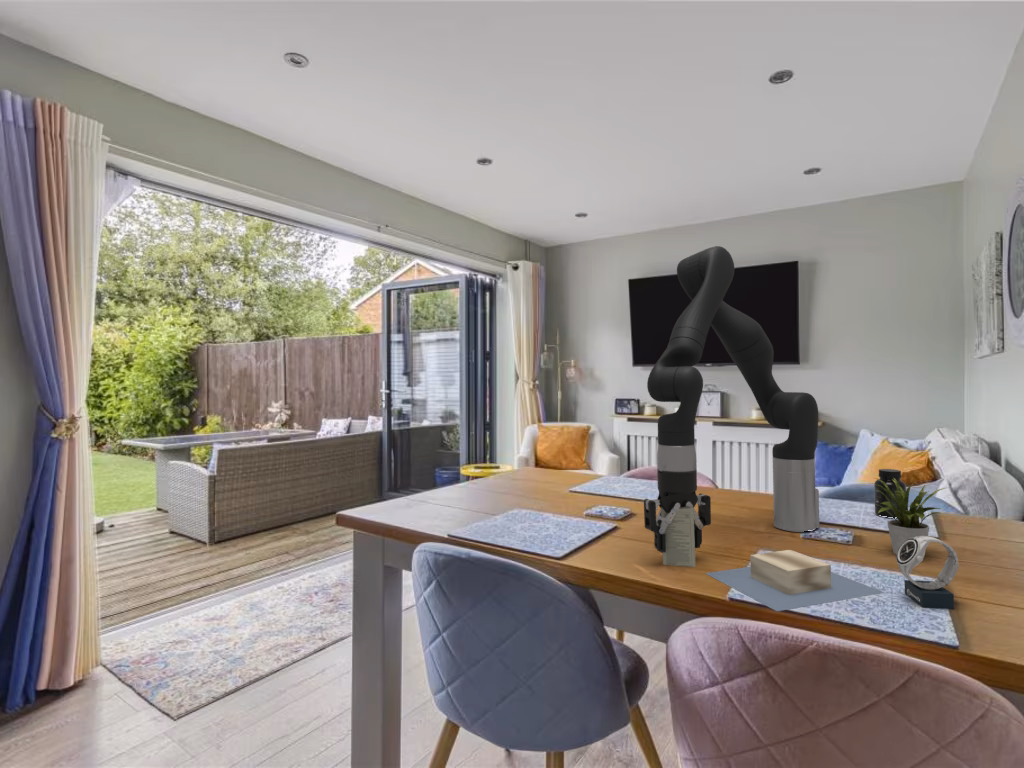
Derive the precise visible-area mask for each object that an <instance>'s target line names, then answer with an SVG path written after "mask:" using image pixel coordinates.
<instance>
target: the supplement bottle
mask: <svg viewBox="0 0 1024 768" xmlns="http://www.w3.org/2000/svg"><path fill="white" fill-rule="evenodd" d="M878 477H879V478H878V479H879V480H881V481H883V482H884V483H885V484H886V485H887V486H888V487H889V489H890V490H891V492H892V493H893V495H894V497H895V498H896V500H897V501H898V499H897V497H896V495H895V491H897V487H896V485H895V483H894V482H893V480H894V478H895V479H896V480H897V481H898V483H899V486H900V487H901V488H902V489H903V491H904V493H906V490H907V484H906V483H905V482H904V481H903V480H901V479H902V471H901V470H899V469H894V468H893V469H892V468H879V469H878ZM879 480H877V479H876V480H875V481H874V483H873V486H874V487H873V488H875V489H873V490H874V514H875V515H876V514H877V515H881V516H887V517H892V516H894V517H896V515H895V514H894V512H893V511H892V510H891V508H889V509H888V510H887V511H888V512H889V513H890V514H891V515H892V516H891V515H890V514H889V513H888V512H887V511H886V510H885V511H882V512H879V510H880V509H881V508H882V507H883V508H888V506H887V505H885V504H881V503H883V502H889V501H888V500H887V498H888V499H889V500H890V502H891V503H892V504H893V505H894V506H895V507H896V508H897V509H898V510H899V508H898V506H897V505H896V503H895V502H894V500H893V499H892V498H891V496H890V495H889V494H888V493H887V492H886V491H885V490H884V489H883V488H881V487H880V486H882V487H884V488H886V487H885V485H884V484H883V483H882V482H881V481H879ZM894 481H895V480H894ZM875 484H878V485H880V486H878V485H875ZM877 489H878V490H880V491H881V492H883V493H884V494H885V495H886V496H887V498H886V497H885V496H884V495H883V494H882V493H881V492H880V491H878V490H877ZM886 489H887V488H886ZM898 503H899V502H898ZM876 504H877V505H876ZM880 506H881V507H880ZM878 512H879V513H878ZM877 515H876V516H877Z"/></svg>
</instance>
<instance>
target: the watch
mask: <svg viewBox="0 0 1024 768" xmlns="http://www.w3.org/2000/svg"><path fill="white" fill-rule="evenodd" d="M930 543H939V544H941V545H942V546H943V547H944V548H945V551H946V553H947V554H948V556H947V559H946V560H945V562H944V564H943V567H942V568H941V570H940V572H939V573H938V575H937V576H936V578H937V579H935V580H934V581H933V580H914V579H913V577H911V576H910V574H911V573H912V571H913V569H914V568H915V567H917V566H918V565H920V563H921V562H923V560H924V558H925V555H926V549H927V548H928V547H929V545H930ZM895 555H896V554H895ZM895 557H896V558H895V559H896V562H897V566H898V569H899V572H901V574H902V576H903V577H904V578H906V579H904V581H903V582H904V595H906V596H907V597H908V598H909V599H911V600H912V601H913V602H915V603H916V604H917V605H918V606H920V607H921V608H923V609H925V608H926V609H943V610H945V609H946V610H955V596H954V595H955V594H954V593H952V592H951V591H950V590H948V589H947V588H945V586H946V587H947V586H949V585H950V584H951V582H952V581H953V580H954V578H955V577H956V574H957V572H958V570H959V567H960V564H959V557H958V554H957V552H956V551H955V549H954V548H953V547H952V546H950V544H948V543H946V542H944V541H943V540H940V539H938V538H936V537H934V536H929V535H928V536H918V537H915V538H909V539H907V540H906V541H904V542H903V543H902V544H901V546H900V547H899V549H898V551H897V555H896V556H895Z"/></svg>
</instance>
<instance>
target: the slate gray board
mask: <svg viewBox="0 0 1024 768" xmlns="http://www.w3.org/2000/svg"><path fill="white" fill-rule="evenodd" d="M705 575H707V576H709V577H711V578H713V579H715V580H717V582H721V583H723V584H724V585H727V587H730V588H732V589H734V590H736V591H737V592H740V593H741V594H743V595H745V596H747V597H749V598H750V599H753V600H755V601H756V602H758V603H760V604H762V605H764V606H765V607H768V608H770V609H772V610H774V612H782V611H788V610H793V609H799V608H804V607H805V608H806V607H811V606H816V605H823V604H828V603H832V602H839V601H844V600H845V601H846V600H850V599H856V598H861V597H868V596H874V595H879V594H884V593H885V592H884V591H882V590H879V589H877V588H874V587H872V586H869V585H867V584H864V583H861V582H859V581H856V580H853V579H850V578H848V577H846V576H844V575H841V574H839V573H836V572H833V571H831V588H828V589H822V590H816V591H810V592H804V593H798V594H792V595H788V594H786V593H783V592H781V591H779V590H777V589H775V588H773V587H771V586H769V585H767V584H765V583H762V582H760V581H758V580H756V579H754V578H752V577H751V566H746V567H740V568H731V569H723V570H718V571H710V572H705Z"/></svg>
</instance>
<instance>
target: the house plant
mask: <svg viewBox="0 0 1024 768" xmlns="http://www.w3.org/2000/svg"><path fill="white" fill-rule="evenodd" d="M874 479H876V480H879V479H880V478H876V477H874ZM894 480H895V481H894ZM894 480H893V482H894V483H895V485H896V487H897V491H895V495H896V497H897V499H898V501H897V500H896V498H895V497H894V495H893V493H892V492H891V490H890V489H889V487H888V486H887V485H886V484H885V483H884V482H883V481H881V480H879V481H881V482H882V483H883V484H884V485H885V487H886V488H887V489H886V488H884V487H882V486H880V485H878V484H875V485H878V486H880V487H881V488H883V489H884V490H885V491H886V492H887V493H888V494H889V495H890V496H891V498H892V499H893V500H894V502H895V503H896V505H897V506H898V508H899V510H898V509H897V508H896V507H895V506H894V505H893V504H892V503H891V502H890V500H889V499H888V498H887V496H886V495H885V494H884V493H883V492H881V491H880V490H878V489H877V490H878V491H880V492H881V493H882V494H883V495H884V496H885V497H886V498H887V500H888V501H889V502H883V503H881V504H885V505H887V506H888V508H883V507H882V508H881V509H880V510H879V512H882V511H885V510H886V511H887V510H888V509H889V508H891V510H892V511H893V512H894V514H895V515H896V517H897V518H898V519H895V517H894V516H892V515H891V514H890V513H889V512H888V511H887V512H888V513H889V514H890V515H891V516H892V517H893V518H894V519H891V520H888V521H887V522H886V523H887V528H888V533H889V537H890V543H891V547H892V552H893V554H894V555H897V551H898V549H899V547H900V546H901V544H902V543H903V542H904V541H906V540H907V539H909V538H915V537H918V536H929V532H930V525H928V524H927V523H924V522H923V521H924V520H925V519H926V518H927V517H929V516H931V515H936V514H941V512H937V511H936V512H931V513H928V514H927V515H925V513H926V512H928V511H932V510H933V511H934V510H941V509H942V508H940V507H933V506H931V507H928V506H927V507H924V506H923V505H924V504H925V503H926V502H927V500H929V499H930V498H931V497H933V496H934V495H936V494H937V493H938V492H939V491H943V490H944V489H946V487H942V488H939V489H936V490H935V491H933V492H931V493H930V494H929V495H928V496H926V494H928V492H930V491H929V490H928V491H925V488H926V487H925V486H926V484H924V485H923V486H922V488H921V489H920V490H919V493H918V495H917V496H916V497H915V498H914V499H913V501H911V503H910V505H909V499H910V498H909V497H910V496H909V495H910V491H911V487H912V486H913V485H914V484H915V483H916V481H914V482H913V483H912V484H910V483H911V482H912V480H913V478H911V479H910V481H909V484H908V486H907V487H906V493H904V491H903V489H902V488H901V487H900V486H899V483H898V481H897V480H896V479H895V478H894ZM869 484H870V485H871V484H872V485H874V483H871V482H869ZM948 488H950V487H949V486H947V489H948ZM872 489H873V490H874V489H875V488H874V487H872ZM924 497H925V498H924ZM923 498H924V499H923ZM898 502H899V503H898ZM869 504H871V505H872V503H869ZM876 505H877V504H876ZM880 507H881V506H880ZM879 512H878V513H879ZM920 520H921V521H920Z"/></svg>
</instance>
